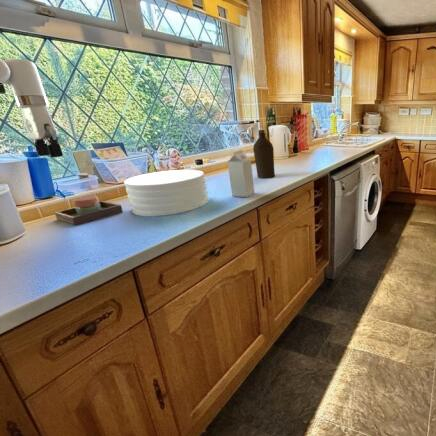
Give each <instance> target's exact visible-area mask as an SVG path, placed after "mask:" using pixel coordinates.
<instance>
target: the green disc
mask: <svg viewBox="0 0 436 436" xmlns="http://www.w3.org/2000/svg"><path fill="white" fill-rule="evenodd" d="M74 208H75V207H74ZM75 209H76V212H77V214H78V215H83V214H86V213H90V212H94V211H98V210H102V208H101V205H100V203H97V205H96V206H93V207H89V208H78V207H76V208H75Z"/></svg>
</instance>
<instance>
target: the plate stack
mask: <svg viewBox="0 0 436 436" xmlns="http://www.w3.org/2000/svg"><path fill="white" fill-rule="evenodd" d="M123 185H124V187H125V192H126V194H127V199H128V200H129V201H128V203H129V206H130V211H131V213H132V214H133V215H136V216H141V217H161V216H162V217H163V216H170V215H176V214H181V213H185V212H190V211H194V210H196V209H199V208H200V207H203V206H205V205H206V204H208V203H209V196H208V195H209V194H208V190H207V184H206V178H205V172H204V171H202V170H197V169H172V170H162V171H154V172H149V173H143V174H139V175H135V176H132V177H129V178H126V179H125V180H124V181H123Z"/></svg>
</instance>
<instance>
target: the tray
mask: <svg viewBox="0 0 436 436" xmlns="http://www.w3.org/2000/svg"><path fill="white" fill-rule="evenodd" d="M99 203H100V205H101V208H102V210H98V211H94V212H90V213H86V214H83V215H78V214H77V212H76V209H75V208H76V207H75V206H74V207H71V208H67V209H63V210H59V211H55V212H54V215H55V218H56V220H57V221H60V222H62V223H66V224H69V225H72V226H78V225H82V224H85V223H89V222H92V221H96V220H99V219H100V220H101V219H103V218H106V217H110V216H113V215H117V214H120V213H123V212H124V211H123V207H122V204H118V203H113V202H109V201H105V200H99Z"/></svg>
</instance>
